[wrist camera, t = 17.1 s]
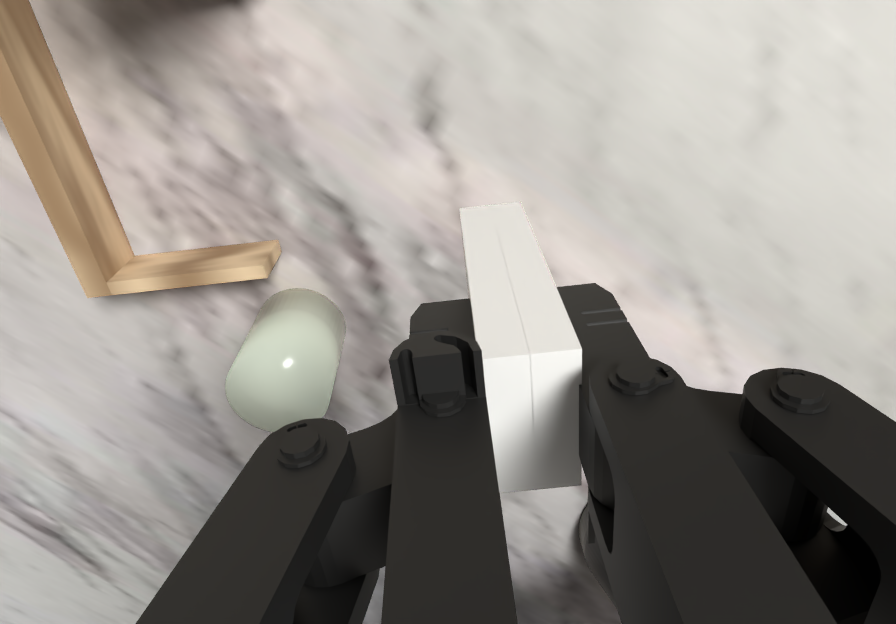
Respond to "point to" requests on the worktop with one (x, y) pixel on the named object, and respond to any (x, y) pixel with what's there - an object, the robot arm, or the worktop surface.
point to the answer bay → (92, 180)
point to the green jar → (287, 360)
